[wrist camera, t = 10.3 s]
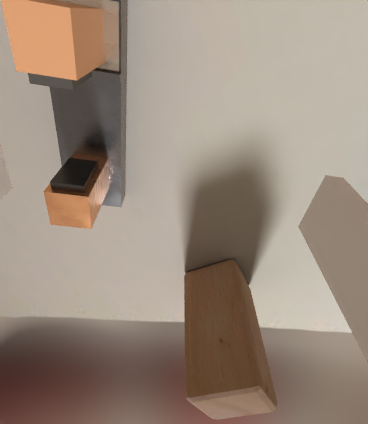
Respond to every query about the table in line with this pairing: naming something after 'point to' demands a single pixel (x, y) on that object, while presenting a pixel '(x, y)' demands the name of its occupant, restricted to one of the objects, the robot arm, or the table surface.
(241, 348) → the wooden block
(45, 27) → the tall peach prism
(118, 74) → the rail
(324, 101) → the table surface
